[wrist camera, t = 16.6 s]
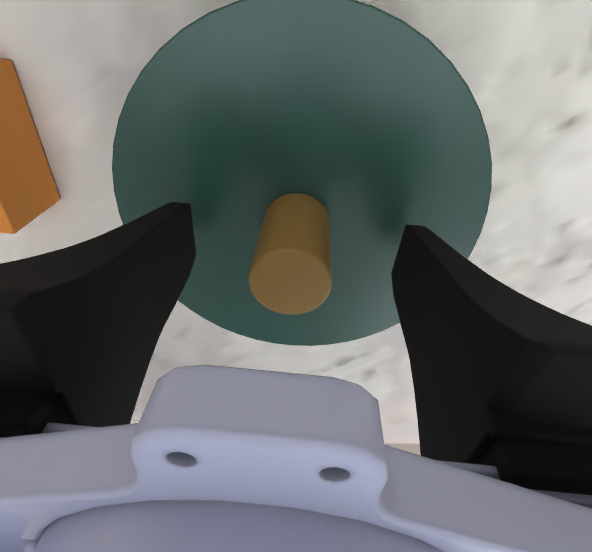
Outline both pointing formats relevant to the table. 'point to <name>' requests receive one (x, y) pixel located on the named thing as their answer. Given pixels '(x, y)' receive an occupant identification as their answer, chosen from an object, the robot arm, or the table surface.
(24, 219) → the soap
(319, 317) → the tin lid
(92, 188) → the table surface
